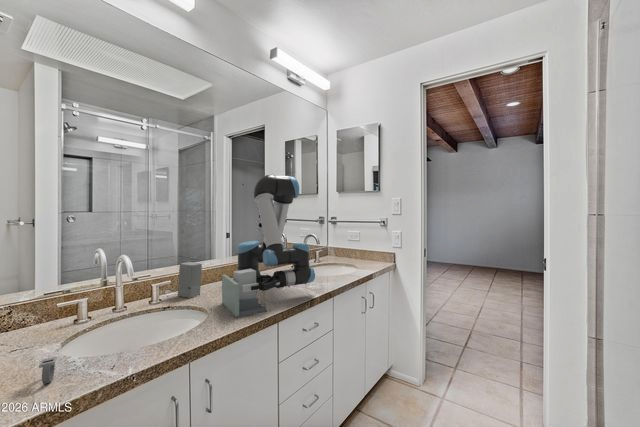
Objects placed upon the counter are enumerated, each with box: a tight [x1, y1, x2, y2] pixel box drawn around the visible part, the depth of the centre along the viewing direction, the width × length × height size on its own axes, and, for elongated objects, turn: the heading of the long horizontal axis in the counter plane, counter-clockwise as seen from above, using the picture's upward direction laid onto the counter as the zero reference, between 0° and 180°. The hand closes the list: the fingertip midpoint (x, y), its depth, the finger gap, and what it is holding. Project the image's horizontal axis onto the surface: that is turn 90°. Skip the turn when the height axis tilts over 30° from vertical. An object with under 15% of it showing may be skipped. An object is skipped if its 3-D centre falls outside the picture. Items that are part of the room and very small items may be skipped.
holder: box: [221, 274, 268, 319], centre depth 119 cm, size 20×13×13 cm, turn 33°
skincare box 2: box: [232, 269, 258, 301], centre depth 119 cm, size 8×6×15 cm
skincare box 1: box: [177, 261, 203, 299], centre depth 136 cm, size 8×7×16 cm
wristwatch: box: [38, 356, 58, 385], centre depth 67 cm, size 6×3×5 cm, turn 35°
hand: (237, 285), depth 118 cm, fingers open, 13 cm apart
